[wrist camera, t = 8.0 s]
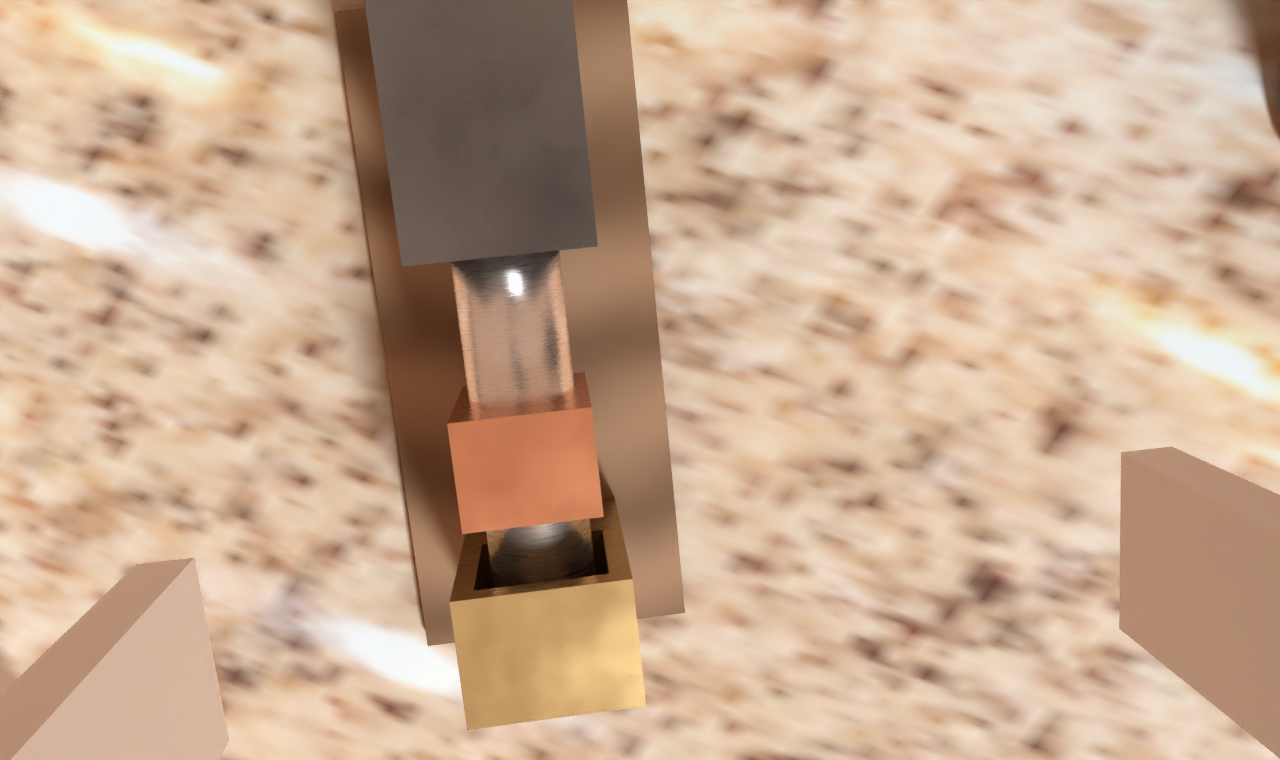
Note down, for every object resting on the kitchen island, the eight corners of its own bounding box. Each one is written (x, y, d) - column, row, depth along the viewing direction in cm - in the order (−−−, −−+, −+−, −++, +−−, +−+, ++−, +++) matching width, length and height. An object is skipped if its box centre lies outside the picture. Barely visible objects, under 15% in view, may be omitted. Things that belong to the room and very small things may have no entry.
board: (338, 14, 43) (334, 11, 42) (624, -10, 44) (625, -14, 43) (429, 638, 48) (427, 645, 47) (682, 605, 49) (684, 612, 48)
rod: (435, 175, 41) (412, 172, 34) (561, 162, 41) (564, 157, 34) (489, 580, 44) (478, 653, 37) (605, 565, 44) (616, 634, 37)
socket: (471, 509, 47) (449, 602, 37) (613, 492, 48) (632, 578, 37) (484, 611, 48) (467, 730, 38) (624, 593, 49) (645, 705, 38)
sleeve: (407, 34, 43) (362, -16, 33) (563, 20, 44) (568, -34, 33) (435, 248, 45) (402, 266, 34) (586, 232, 45) (598, 246, 35)
